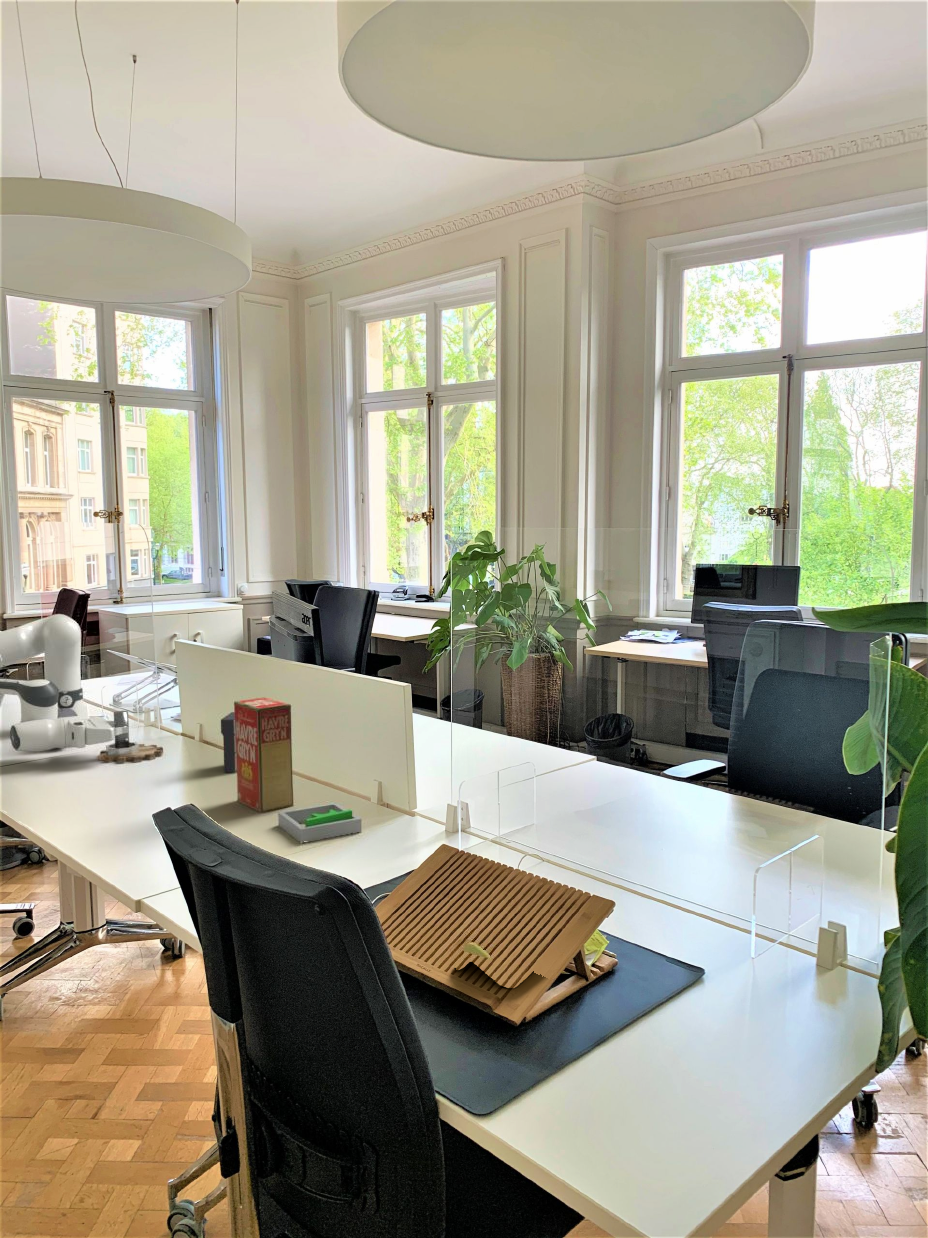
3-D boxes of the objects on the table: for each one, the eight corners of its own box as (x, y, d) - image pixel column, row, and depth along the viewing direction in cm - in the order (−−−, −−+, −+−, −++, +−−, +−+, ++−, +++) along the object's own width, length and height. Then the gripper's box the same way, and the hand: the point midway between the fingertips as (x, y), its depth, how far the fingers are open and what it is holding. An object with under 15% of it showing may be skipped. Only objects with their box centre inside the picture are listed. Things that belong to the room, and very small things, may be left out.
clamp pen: (278, 825, 202) (278, 812, 201) (336, 815, 209) (336, 802, 209) (301, 843, 190) (301, 829, 189) (361, 832, 197) (361, 818, 197)
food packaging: (234, 800, 220) (232, 700, 218) (269, 793, 227) (267, 696, 224) (260, 813, 210) (257, 708, 208) (295, 805, 216) (293, 703, 214)
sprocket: (94, 753, 269) (94, 742, 269) (155, 746, 278) (155, 735, 278) (105, 766, 254) (104, 754, 254) (169, 758, 263) (169, 746, 263)
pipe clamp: (343, 826, 202) (343, 806, 201) (352, 831, 199) (352, 810, 198) (299, 836, 194) (299, 816, 194) (308, 841, 192) (307, 820, 191)
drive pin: (114, 751, 265) (112, 711, 264) (128, 749, 267) (126, 710, 266) (116, 754, 262) (115, 713, 261) (130, 752, 264) (129, 712, 263)
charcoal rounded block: (237, 773, 246) (236, 719, 245) (221, 773, 247) (220, 719, 245) (247, 763, 257) (246, 711, 256) (232, 763, 257) (231, 711, 256)
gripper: (69, 735, 266) (118, 730, 273) (80, 749, 249) (132, 743, 256) (68, 714, 266) (117, 710, 273) (79, 727, 248) (131, 722, 255)
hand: (124, 726), depth 264 cm, fingers open, 8 cm apart
